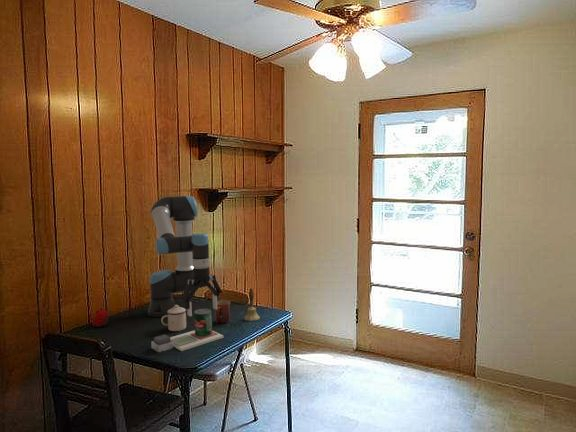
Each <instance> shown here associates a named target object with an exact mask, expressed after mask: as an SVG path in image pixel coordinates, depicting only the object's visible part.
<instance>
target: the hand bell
mask: <svg viewBox="0 0 576 432" xmlns="http://www.w3.org/2000/svg"><path fill="white" fill-rule="evenodd" d="M254 295H255V293H254V289H253V288H249V291H248V298H249V307H248V308H247V309H246V315H245V316H244V318H243V320H244V321H247V322H256V321H259V320H260V319H261V318H260V317H261V316H259V315H258V313H257V310H256V307H254V297H255V296H254Z"/></svg>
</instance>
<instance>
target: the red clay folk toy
mask: <svg viewBox="0 0 576 432" xmlns="http://www.w3.org/2000/svg"><path fill="white" fill-rule="evenodd" d="M100 300H101V301H102V303H101V305H100V306H101V307H100V309H96V310H95V312H94V314H93V318H92V326H93V328H103V327H102V326H104V327H106V326H107V325H108V323H109V315H108V311H107V310H106V308H105V307H103V306H104V302H107V299H106V298H105V297H103V298H100Z"/></svg>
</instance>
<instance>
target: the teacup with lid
mask: <svg viewBox="0 0 576 432" xmlns="http://www.w3.org/2000/svg"><path fill="white" fill-rule="evenodd" d="M186 313H187V309H186V307H185V308H184V307H181V306H179V305H178V304H175V306H174V307H173V308H172V309H169V310H168V311H167V314H168V315H165V316H162V317H160V318H161V320H160V321H161V324H162V325H163V326H167V327H168V330H169V331H171V332H179V331H183V330H185V329H186V328H187V314H186ZM164 318H167V323H165V322H164Z"/></svg>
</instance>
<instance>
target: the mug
mask: <svg viewBox="0 0 576 432" xmlns="http://www.w3.org/2000/svg"><path fill="white" fill-rule="evenodd" d="M230 306H231V301H230V300H227V299H222V300H221V299H218V302H217V309H214V319H215V322H216V323H217V324H218V325H222V324H223V325H224V324H227V323H228V322H229V321H230V317H231V316H230V314H231V313H230Z"/></svg>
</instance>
